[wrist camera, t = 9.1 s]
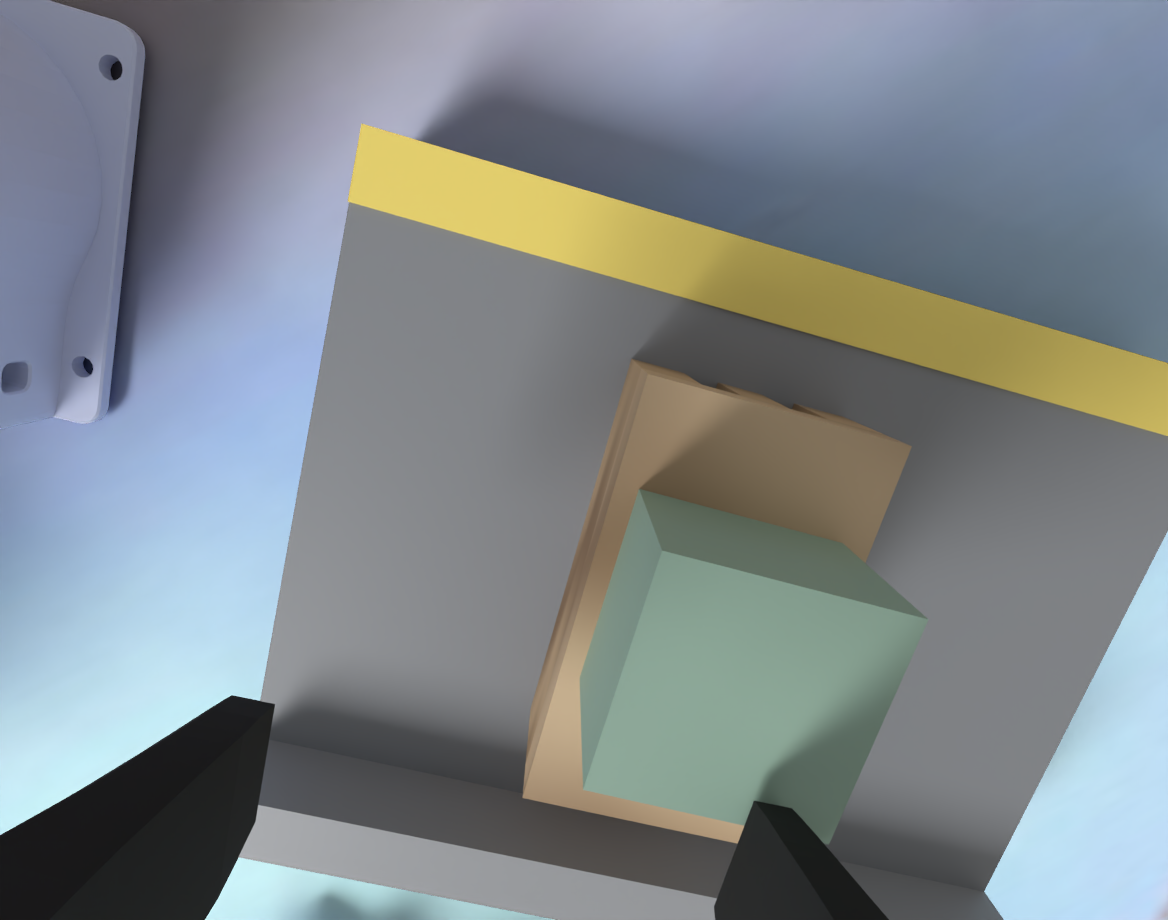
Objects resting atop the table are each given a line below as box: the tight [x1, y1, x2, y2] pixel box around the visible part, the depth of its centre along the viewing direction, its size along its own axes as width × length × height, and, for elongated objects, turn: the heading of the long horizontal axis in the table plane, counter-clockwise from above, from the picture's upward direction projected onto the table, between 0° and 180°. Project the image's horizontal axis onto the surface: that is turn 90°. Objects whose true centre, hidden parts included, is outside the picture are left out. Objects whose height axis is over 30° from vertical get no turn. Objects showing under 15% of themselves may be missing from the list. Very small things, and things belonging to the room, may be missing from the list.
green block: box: [580, 489, 929, 844], centre depth 11 cm, size 4×4×3 cm
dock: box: [239, 124, 1168, 920], centre depth 16 cm, size 16×20×5 cm
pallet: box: [522, 359, 912, 844], centre depth 14 cm, size 9×5×3 cm, turn 165°
